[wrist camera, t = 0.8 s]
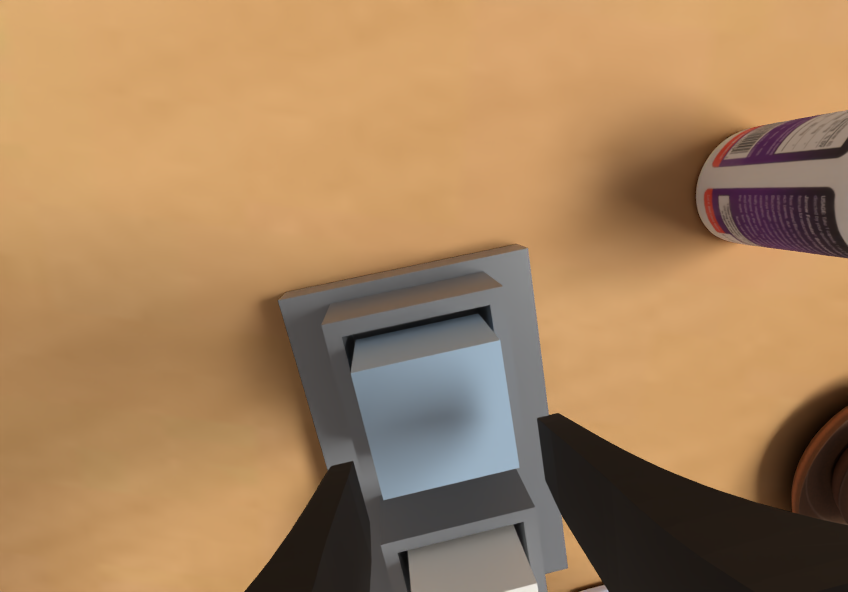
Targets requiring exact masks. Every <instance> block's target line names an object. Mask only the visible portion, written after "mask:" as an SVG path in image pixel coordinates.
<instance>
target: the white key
mask: <svg viewBox="0 0 848 592" xmlns="http://www.w3.org/2000/svg"><path fill="white" fill-rule="evenodd" d="M408 560H409V572H410V584H411V592H538V586H537V582H536V579H535V577H534V575H533V572H532V570H531V567H530V565H529V562H528V560H527V557H526V555H525V552H524V550H523V547H522V545H521V543H520V540H519V538H518V535H517V533H516V530H515V528H514V525H513V524H512V525H508V526H504V527H500V528H496V529H492V530H488V531H484V532H480V533H476V534H472V535H468V536H464V537H460V538H456V539H451V540H447V541H443V542H439V543H435V544H431V545H427V546H423V547H419V548H415V549H411V550H408Z"/></svg>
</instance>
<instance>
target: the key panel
mask: <svg viewBox="0 0 848 592" xmlns="http://www.w3.org/2000/svg"><path fill="white" fill-rule="evenodd" d="M278 302H279V306H280V309H281V313H282V316H283V320H284V323H285V326H286V330H287V333H288V337H289V340H290V343H291V347H292V350H293V354H294V357H295V360H296V364H297V367H298V371H299V374H300V377H301V381H302V384H303V388H304V391H305V394H306V398H307V401H308V405H309V408H310V411H311V415H312V418H313V422H314V425H315V428H316V432H317V435H318V439H319V442H320V446H321V449H322V452H323V456H324V459H325V463H326V466H327V469H328V470H329V468H330V467H331V466H333V465H337V464H341V463H346V462H350V461H353V462H354V465H355V469H356V473H357V476H358V480H359V484H360V487H361V491H362V495H363V498H364V502H365V506H366V509H367V513H368V517H369V520H370V531H371V556H372V564H371V580H370V592H411V584H410V572H409V560H408V550H411V549H415V548H419V547H423V546H427V545H431V544H435V543H439V542H443V541H447V540H451V539H456V538H460V537H464V536H468V535H472V534H476V533H480V532H484V531H488V530H492V529H496V528H500V527H504V526H508V525H512V524H513V525H514V528H515V530H516V533H517V535H518V538H519V540H520V543H521V545H522V547H523V550H524V552H525V555H526V557H527V560H528V562H529V565H530V567H531V570H532V572H533V575H534V577H535V579H536V582H537V586H538V592H547V585H546V578H545V574H547V573H551V572H555V571H559V570H563V569H567V568H568V564H567V556H566V548H565V540H564V532H563V524H562V516H561V513H560V511H559V509H558V507H557V505H556V503H555V501H554V498H553V496H552V494H551V492H550V490H549V487H548V485H547V483H546V481H545V476H544V468H543V461H542V453H541V446H540V438H539V431H538V423H537V418H539V417H543V416H548V415H549V413H548V405H547V397H546V389H545V381H544V373H543V365H542V357H541V349H540V341H539V333H538V325H537V317H536V309H535V301H534V293H533V285H532V277H531V269H530V261H529V253H528V248H526V247H523V246H521V245H518V244H515V245H510V246H505V247H500V248H496V249H491V250H486V251H481V252H476V253H472V254H467V255H462V256H457V257H452V258H448V259H443V260H438V261H433V262H428V263H424V264H419V265H414V266H409V267H404V268H400V269H395V270H390V271H385V272H380V273H376V274H371V275H366V276H361V277H356V278H352V279H347V280H342V281H337V282H332V283H328V284H323V285H318V286H313V287H308V288H303V289H299V290H294V291H289V292H285V293H284V294H283V296H282V297H281V298H280V299H279V300H278ZM473 314H479V315H480V316H481V317H482V319H483V320H484V321H485V322H486V323H487V325H488V326H489V327H490V328H491V330H492V331H493V332H494V333H495V334H496V336H497V337H498V338H499V339H500V342H501V349H502V355H503V362H504V369H505V375H506V382H507V388H508V395H509V402H510V408H511V415H512V421H513V428H514V435H515V441H516V448H517V454H518V461H519V468H516V469H512V470H508V471H504V472H500V473H495V474H491V475H487V476H483V477H479V478H474V479H470V480H466V481H462V482H458V483H454V484H449V485H445V486H441V487H437V488H433V489H428V490H424V491H420V492H416V493H412V494H408V495H403V496H399V497H395V498H391V499H387V500H383V497H382V493H381V489H380V485H379V481H378V477H377V474H376V470H375V466H374V462H373V458H372V454H371V450H370V446H369V443H368V439H367V435H366V431H365V427H364V423H363V419H362V415H361V412H360V408H359V404H358V400H357V396H356V392H355V388H354V384H353V381H352V377H351V367H352V361H353V354H354V347H355V341H356V340H358V339H362V338H367V337H371V336H376V335H381V334H385V333H390V332H395V331H399V330H404V329H408V328H413V327H418V326H422V325H427V324H431V323H436V322H441V321H445V320H450V319H455V318H459V317H464V316H468V315H473Z"/></svg>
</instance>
